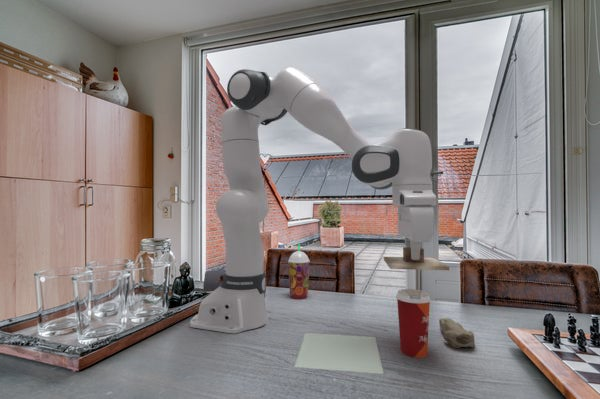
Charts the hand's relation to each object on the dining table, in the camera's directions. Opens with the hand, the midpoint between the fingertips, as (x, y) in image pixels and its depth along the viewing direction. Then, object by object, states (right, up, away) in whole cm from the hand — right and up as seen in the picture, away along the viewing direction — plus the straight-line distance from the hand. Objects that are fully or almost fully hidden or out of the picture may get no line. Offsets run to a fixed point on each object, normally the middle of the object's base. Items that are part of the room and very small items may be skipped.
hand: (412, 258), depth 72 cm
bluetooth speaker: (-51, -24, +47) cm, 73 cm away
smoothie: (-27, -24, +46) cm, 58 cm away
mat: (-17, -22, 0) cm, 28 cm away
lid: (0, -2, 0) cm, 2 cm away
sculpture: (+13, -23, +7) cm, 27 cm away
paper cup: (0, -22, -1) cm, 22 cm away
